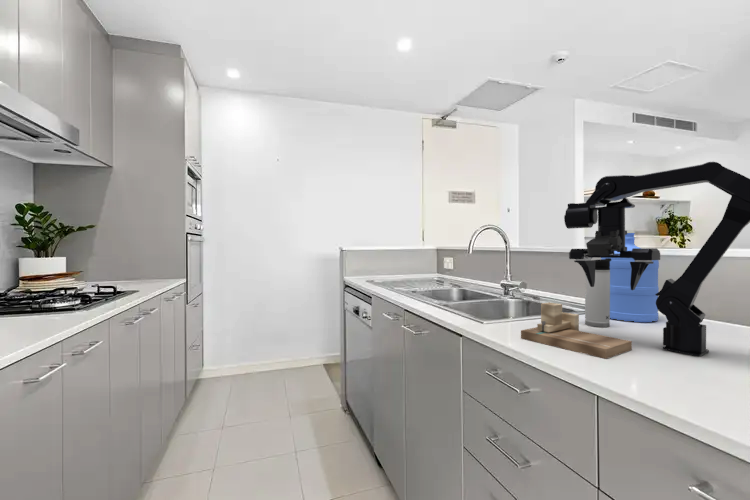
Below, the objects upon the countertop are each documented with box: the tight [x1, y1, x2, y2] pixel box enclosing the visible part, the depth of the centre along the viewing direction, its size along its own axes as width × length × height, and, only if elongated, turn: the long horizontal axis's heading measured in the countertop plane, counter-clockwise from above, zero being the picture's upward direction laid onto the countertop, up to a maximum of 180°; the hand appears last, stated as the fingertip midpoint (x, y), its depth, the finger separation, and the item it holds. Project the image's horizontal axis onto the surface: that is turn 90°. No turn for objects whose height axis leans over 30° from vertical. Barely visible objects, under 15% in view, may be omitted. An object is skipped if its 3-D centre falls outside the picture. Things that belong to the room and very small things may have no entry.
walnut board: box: [520, 326, 633, 360], centre depth 86 cm, size 20×12×2 cm, turn 33°
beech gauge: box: [536, 301, 580, 332], centre depth 92 cm, size 5×12×8 cm, turn 123°
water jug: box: [600, 232, 660, 323], centre depth 117 cm, size 16×16×28 cm
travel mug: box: [584, 258, 611, 328], centre depth 106 cm, size 6×7×20 cm
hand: (611, 288), depth 90 cm, fingers open, 9 cm apart
